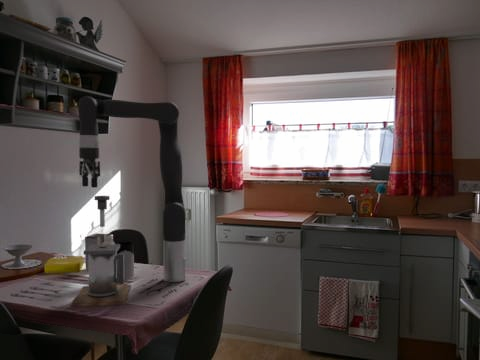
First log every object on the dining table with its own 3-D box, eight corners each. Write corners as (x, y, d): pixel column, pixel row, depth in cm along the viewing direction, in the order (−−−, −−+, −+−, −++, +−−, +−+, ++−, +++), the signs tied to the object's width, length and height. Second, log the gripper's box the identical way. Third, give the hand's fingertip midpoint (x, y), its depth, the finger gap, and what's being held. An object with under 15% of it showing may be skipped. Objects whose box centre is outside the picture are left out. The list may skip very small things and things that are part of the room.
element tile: (43, 275, 181) (43, 264, 180) (50, 266, 195) (50, 256, 195) (79, 272, 184) (79, 262, 184) (83, 264, 199) (83, 254, 199)
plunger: (110, 225, 153) (110, 195, 153) (108, 227, 148) (108, 197, 147) (96, 225, 153) (96, 195, 152) (93, 227, 147) (93, 197, 147)
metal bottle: (102, 285, 165) (101, 237, 164) (99, 281, 171) (99, 234, 170) (118, 283, 168) (118, 235, 167) (115, 279, 174) (114, 232, 173)
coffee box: (96, 266, 194) (95, 233, 193) (108, 267, 193) (108, 233, 192) (85, 271, 185) (84, 236, 184) (97, 272, 184) (97, 237, 183)
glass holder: (114, 281, 171) (114, 246, 170) (113, 272, 184) (112, 239, 183) (136, 279, 174) (135, 244, 173) (133, 270, 187) (132, 238, 186)
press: (126, 287, 158) (125, 243, 157) (121, 297, 147) (121, 250, 146) (91, 288, 156) (90, 244, 155) (84, 298, 145) (83, 251, 145)
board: (130, 288, 162) (130, 284, 162) (124, 304, 144) (124, 300, 144) (83, 290, 159) (83, 286, 159) (71, 306, 142) (71, 302, 142)
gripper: (106, 146, 162) (106, 187, 163) (90, 147, 172) (91, 185, 173) (87, 146, 157) (88, 188, 158) (72, 146, 167) (73, 186, 168)
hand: (89, 186), depth 165 cm, fingers open, 8 cm apart
